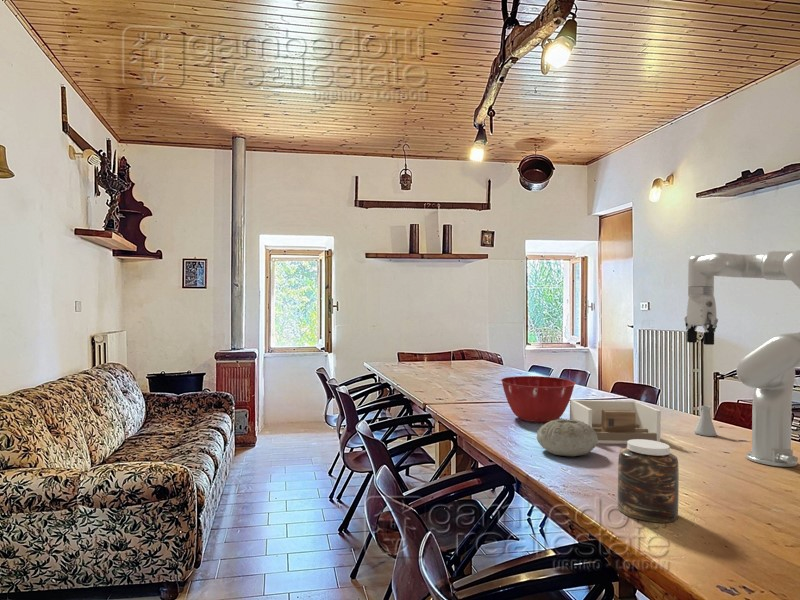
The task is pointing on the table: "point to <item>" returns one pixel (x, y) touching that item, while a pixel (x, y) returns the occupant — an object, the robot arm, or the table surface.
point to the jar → (648, 481)
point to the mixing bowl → (537, 397)
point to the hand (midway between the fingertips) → (700, 343)
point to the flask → (705, 423)
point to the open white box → (592, 409)
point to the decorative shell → (567, 437)
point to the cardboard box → (618, 421)
